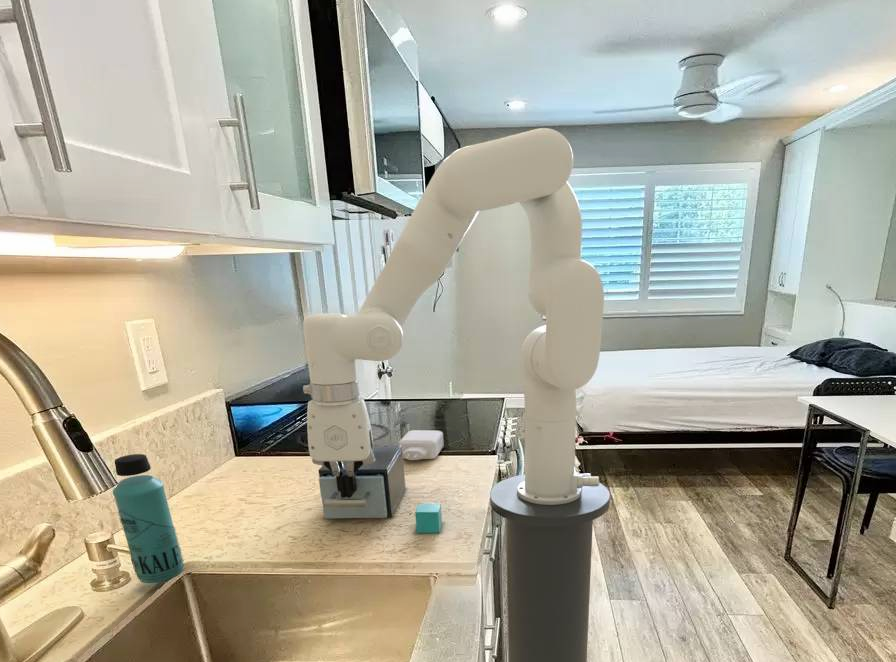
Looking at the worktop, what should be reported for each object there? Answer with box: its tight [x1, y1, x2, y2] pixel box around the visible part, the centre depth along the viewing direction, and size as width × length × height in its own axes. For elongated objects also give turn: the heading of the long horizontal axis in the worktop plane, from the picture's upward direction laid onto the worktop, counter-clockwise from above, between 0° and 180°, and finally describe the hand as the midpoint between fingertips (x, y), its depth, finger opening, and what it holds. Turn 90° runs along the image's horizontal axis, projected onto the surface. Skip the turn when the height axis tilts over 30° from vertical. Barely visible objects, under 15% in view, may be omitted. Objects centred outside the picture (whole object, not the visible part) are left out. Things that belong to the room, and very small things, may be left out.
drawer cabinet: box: [317, 444, 407, 519], centre depth 111 cm, size 15×13×10 cm
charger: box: [397, 429, 445, 461], centre depth 138 cm, size 5×9×15 cm
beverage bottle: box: [112, 453, 185, 584], centre depth 83 cm, size 6×7×20 cm
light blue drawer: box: [318, 473, 387, 519], centre depth 107 cm, size 18×11×8 cm, turn 178°
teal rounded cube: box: [414, 502, 443, 534], centre depth 101 cm, size 4×4×4 cm
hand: (348, 494), depth 101 cm, fingers closed
